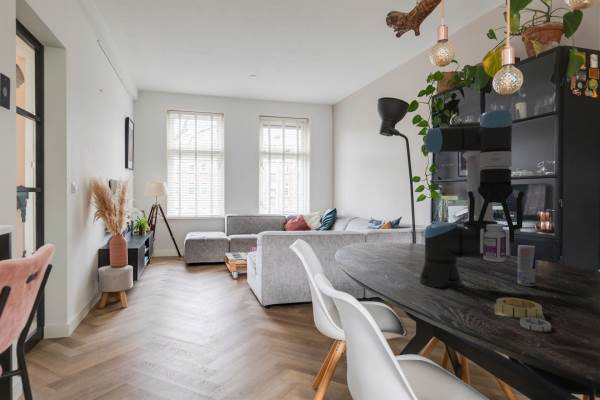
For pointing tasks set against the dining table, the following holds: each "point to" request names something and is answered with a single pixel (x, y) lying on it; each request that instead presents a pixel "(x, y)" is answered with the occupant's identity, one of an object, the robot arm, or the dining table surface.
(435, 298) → the dining table surface
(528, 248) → the beverage can
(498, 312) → the oak plate
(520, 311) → the brass collar
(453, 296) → the dining table surface
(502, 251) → the pill bottle
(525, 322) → the grey collar
